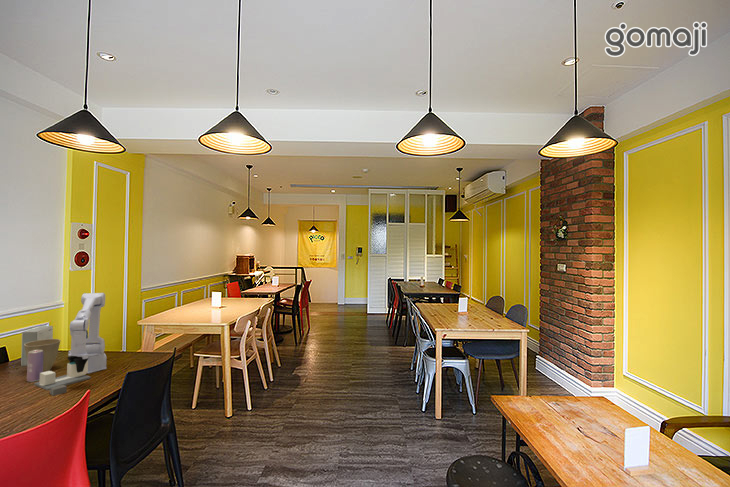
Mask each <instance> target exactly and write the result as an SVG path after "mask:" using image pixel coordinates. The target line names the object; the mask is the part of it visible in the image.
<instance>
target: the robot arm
mask: <svg viewBox="0 0 730 487" xmlns="http://www.w3.org/2000/svg"><path fill="white" fill-rule="evenodd" d="M80 299H81V300H80V302H81V304H82V308H81V309H80V310H79V311H78V312H77V314H76V316H75V318H74V319H73V320H71V321H70V324H69V332H70V333H69V334H70V336H71V337H70V338H71V342H70V343H71V344H70V350H68V354H67V356H68V357H67V360H68V361H69V363H71V362H75V363H76V368H77V372H78V373H79V372H83V369H84V366H85V364H86V362H87V361H88V373H87V374H92V373H96V372H99V371H102V370H103V371H104V370H107V368H108V367H107V355H106V353H105V348H106V344H105V339H104V338H102V337H101V336H100V321H101V319H100V318H101V309H102V308H103V307H105V304H106V293H104V292H94V293H93V292H92V293H91V292H90V293H89V292H87V293H86V292H84V293H83V294H82V295H81V298H80ZM86 331H88V338H87V339H86ZM92 342H98V343H92Z"/></svg>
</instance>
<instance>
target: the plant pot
mask: <svg viewBox="0 0 730 487" xmlns="http://www.w3.org/2000/svg"><path fill="white" fill-rule="evenodd" d="M60 344H61V339H58V338H53V339H44V340H37V341H32V342H28V343H26V344H24V347H25V353H26V357H27V360H28V352H29V351H33V350H43V372H46V371H51V370H52V368H53V365H54V363H55V362H56V357H57V355H58V352H59V350H60V349H59V348H60Z"/></svg>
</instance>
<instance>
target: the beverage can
mask: <svg viewBox="0 0 730 487" xmlns="http://www.w3.org/2000/svg"><path fill="white" fill-rule="evenodd" d="M42 372H43V350H33V351H29V352H28V361H27V366H26V381H27V383H36V382H39V380H40V373H42Z"/></svg>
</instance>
